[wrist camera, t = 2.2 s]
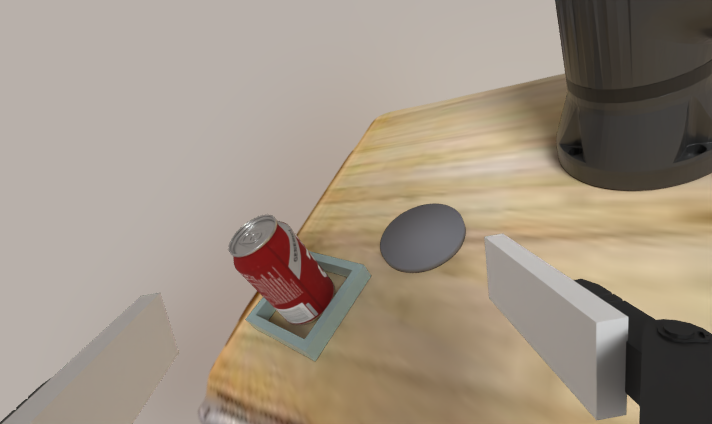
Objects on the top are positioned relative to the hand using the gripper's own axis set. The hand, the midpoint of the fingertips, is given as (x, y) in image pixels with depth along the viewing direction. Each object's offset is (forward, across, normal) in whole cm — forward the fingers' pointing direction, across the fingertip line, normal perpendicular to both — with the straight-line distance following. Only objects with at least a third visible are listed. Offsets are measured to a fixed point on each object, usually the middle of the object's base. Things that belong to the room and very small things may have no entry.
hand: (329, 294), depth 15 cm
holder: (+27, -5, -13) cm, 30 cm away
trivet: (+27, +9, -8) cm, 30 cm away
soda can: (+27, -5, -14) cm, 30 cm away
